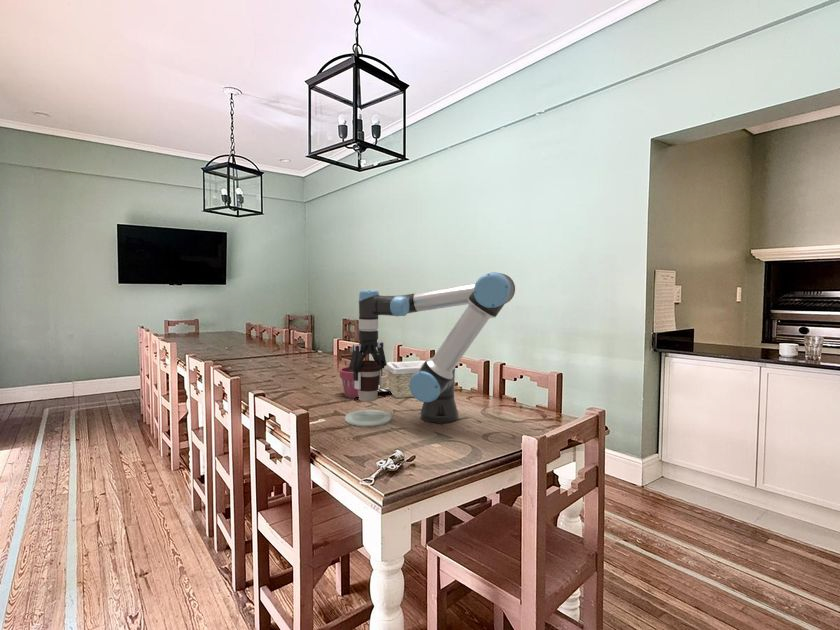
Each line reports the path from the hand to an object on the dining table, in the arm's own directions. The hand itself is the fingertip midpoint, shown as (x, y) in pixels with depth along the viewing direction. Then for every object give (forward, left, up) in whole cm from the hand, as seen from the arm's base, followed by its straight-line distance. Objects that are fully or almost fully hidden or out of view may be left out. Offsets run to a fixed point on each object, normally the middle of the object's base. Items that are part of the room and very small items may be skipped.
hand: (368, 386), depth 174 cm
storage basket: (-42, -16, -13) cm, 47 cm away
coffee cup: (0, 0, -5) cm, 5 cm away
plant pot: (-19, -32, -13) cm, 40 cm away
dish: (0, 0, -13) cm, 13 cm away
